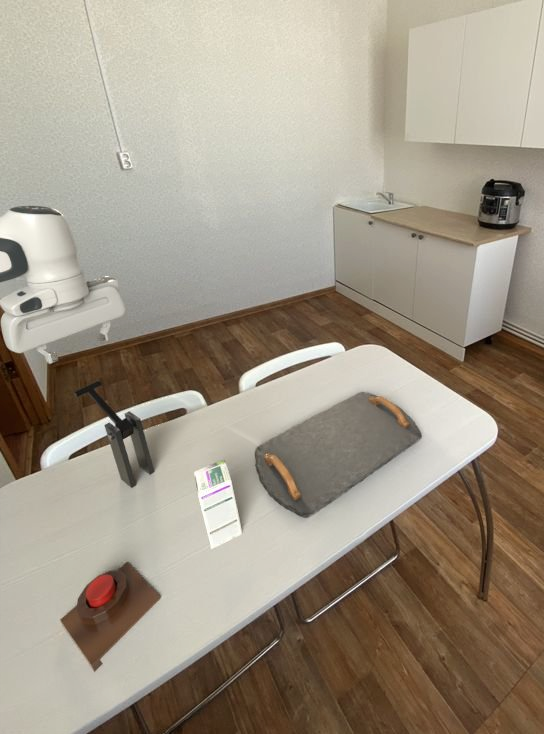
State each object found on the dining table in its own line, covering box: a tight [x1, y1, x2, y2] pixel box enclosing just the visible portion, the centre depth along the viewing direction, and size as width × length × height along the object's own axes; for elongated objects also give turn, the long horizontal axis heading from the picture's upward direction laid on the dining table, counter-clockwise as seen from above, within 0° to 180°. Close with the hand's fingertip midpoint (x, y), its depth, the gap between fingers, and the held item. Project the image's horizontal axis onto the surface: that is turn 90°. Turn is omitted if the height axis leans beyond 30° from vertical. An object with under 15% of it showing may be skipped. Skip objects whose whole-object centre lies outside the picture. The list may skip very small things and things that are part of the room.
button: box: [86, 575, 116, 607], centre depth 60 cm, size 4×4×2 cm
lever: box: [73, 379, 134, 440], centre depth 81 cm, size 16×5×2 cm, turn 57°
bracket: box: [103, 410, 155, 489], centre depth 81 cm, size 10×8×16 cm
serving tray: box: [254, 391, 423, 519], centre depth 90 cm, size 39×23×6 cm, turn 129°
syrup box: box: [193, 459, 243, 550], centre depth 70 cm, size 6×6×14 cm
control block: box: [59, 561, 161, 673], centre depth 59 cm, size 10×10×4 cm
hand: (79, 350), depth 80 cm, fingers open, 8 cm apart
